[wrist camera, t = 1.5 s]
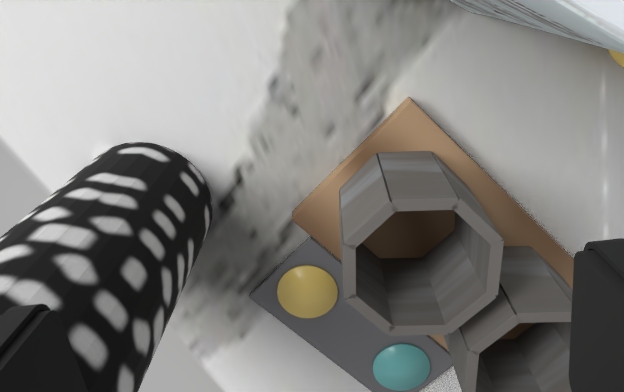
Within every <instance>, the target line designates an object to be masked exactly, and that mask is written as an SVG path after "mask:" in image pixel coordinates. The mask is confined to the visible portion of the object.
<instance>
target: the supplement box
mask: <svg viewBox="0 0 624 392" xmlns="http://www.w3.org/2000/svg"><path fill="white" fill-rule="evenodd" d="M450 1H451V2H453V3H455V4H457V5H458V6H460V7H462V8H464V9H466V10H467V11H469V12H471V13H475V14H482V15H487V16H491V17H495V18H498V19H502V20H505V21H509V22H513V23H516V24H520V25H524V26H527V27H531V28H535V29H539V30H542V31H546V32H549V33H553V34H557V35H560V36H564V37H568V38H571V39H574V40H578V41H581V42H585V43H588V44H592V45H595V46H599V47H603V48H606V49H610V50H613V51H617V52H621V53H624V0H450Z"/></svg>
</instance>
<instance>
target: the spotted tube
mask: <svg viewBox="0 0 624 392" xmlns="http://www.w3.org/2000/svg"><path fill="white" fill-rule="evenodd" d="M211 220H212V201H211V196H210V192H209V190H208V187H207V185H206V182H205V181H204V179H203V178H202V176H201V175H200V173H199V172H198V170H197V169H196V168H195V167H194V166H193V165H192V164H191V163H190V162H189V161H188V160H186V159H185V158H184V157H182V156H181V155H179V154H178V153H176V152H174V151H172V150H170V149H168V148H166V147H163V146H159V145H156V144H152V143H143V142H134V143H125V144H121V145H118V146H115V147H112V148H110V149H108V150H107V151H105V152H103V153H102V154H100V155H99V156H98V157H97V158H96V159H94V160H93V161H92V162H91V163H90V164H88V165H87V166H86V167H85V168H84V169H82V170H81V171H80V172H79V173H77V174H76V175H75V176H74V177H73V178H71V179H70V180H69V181H68V182H67V183H65V184H64V185H63V186H62V187H61V188H59V189H58V190H57V191H56V192H55V193H53V194H52V195H51V196H50V197H49V198H47V199H46V200H45V201H44V202H43V203H41V204H40V205H39V206H38V207H37V208H35V209H34V210H33V211H32V212H31V213H29V214H28V215H27V216H26V217H25V218H23V219H22V220H21V221H20V222H19V223H17V224H16V225H15V226H14V227H13V228H11V229H10V230H9V231H8V232H7V233H5V234H4V235H3V236H2V237H1V238H0V317H1V316H2V315H3V314H4V313H5V312H6V311H7V310H8V309H9V308H11V307H16V306H25V305H34V304H45V305H47V306H48V307H49V308H50V310H54V311H56V312H57V313H58V314H59V315H60V317H61V320H62V323H63V325H64V328H65V331H66V334H67V336H68V339H69V342H70V344H71V347H72V350H73V352H74V355H75V358H76V361H77V363H78V366H79V369H80V371H81V374H82V377H83V380H84V382H85V385H86V388H87V390H88V392H138V390H139V388H140V385H141V383H142V381H143V378H144V376H145V374H146V372H147V369H148V367H149V365H150V362H151V360H152V358H153V356H154V353H155V351H156V349H157V347H158V344H159V342H160V340H161V337H162V335H163V333H164V331H165V328H166V326H167V324H168V321H169V319H170V317H171V315H172V312H173V310H174V308H175V305H176V303H177V301H178V299H179V296H180V294H181V292H182V290H183V287H184V285H185V283H186V280H187V278H188V276H189V274H190V271H191V269H192V267H193V264H194V262H195V260H196V258H197V255H198V253H199V251H200V249H201V246H202V244H203V242H204V239H205V237H206V235H207V233H208V230H209V228H210V224H211Z"/></svg>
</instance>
